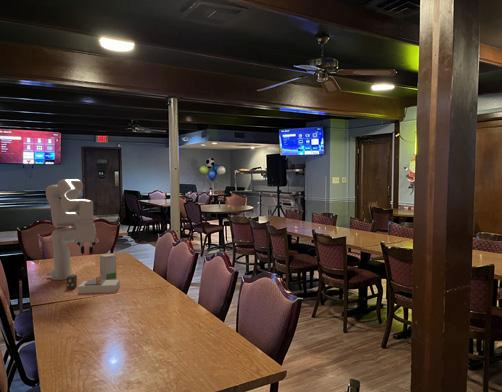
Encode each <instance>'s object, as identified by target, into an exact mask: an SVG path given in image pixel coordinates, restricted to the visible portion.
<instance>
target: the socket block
mask: <svg viewBox="0 0 502 392" xmlns="http://www.w3.org/2000/svg"><path fill="white" fill-rule="evenodd" d="M87 281H88V280H84V281H82V282H81V283H80V284H79V285H77V289H78V293H77V294H81V295H82V294H100V293H117V291H118V290H119V289H120V286H121V285H120V282H121V281H120V279H113V280H105V281H104V282H103V283H102V284H101V285H84V284H85V283H86V282H87Z"/></svg>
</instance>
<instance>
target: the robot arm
mask: <svg viewBox="0 0 502 392" xmlns="http://www.w3.org/2000/svg"><path fill="white" fill-rule="evenodd" d="M83 189H84V184H83V182H82V181H81V180H80V179H78V178H71V179H69V178H64V179H60V180H58V182H57V184H51V185H48V186H47V187H46V188H45V196H46V200H47V202H48V205H49V208H50V213H51V221H52V225H53V226H54V227H56V228H57V229H54V230H53V231H52V232H51V241H52V250H53V271H47V272H46V274H47V276H51V280H53V281H61V280H62V281H63V280H64V281H65V280H67V277H68V276H69V275H74V274H73V273H71V272H72V271H71V250H70V248H69V246H68V245H67V244H69V243H74V244H76V245H78V247H79V248H80V253H81V255H84V254H85V246H84V244H85V243H89V248H88V249H89V250H88V251H89V255H91V254H93V252H94V246H95V245H96V244H98V243H99V242H100V239H99V238H98V237H97V229H96V224H95V222H94V201H93V200H90V199H87V198H79V196H80V194H81V192H83ZM62 227H63V228H62ZM64 227H66V228H64Z"/></svg>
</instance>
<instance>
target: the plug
mask: <svg viewBox="0 0 502 392" xmlns="http://www.w3.org/2000/svg"><path fill="white" fill-rule="evenodd" d="M77 277H78V275H77V274H73V275H69V276H68V277H67V279H66V289H67V290H74V289H76V288H78V281H77V280H78V279H77Z"/></svg>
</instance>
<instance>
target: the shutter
mask: <svg viewBox="0 0 502 392" xmlns="http://www.w3.org/2000/svg"><path fill="white" fill-rule="evenodd" d="M86 281H87V282H86V283H85V284H84V285H101V284H102V283H103V282H104V281H105V279H101V274H100V273H98V274H97V275H96V277H95V279H88V280H86Z"/></svg>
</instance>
